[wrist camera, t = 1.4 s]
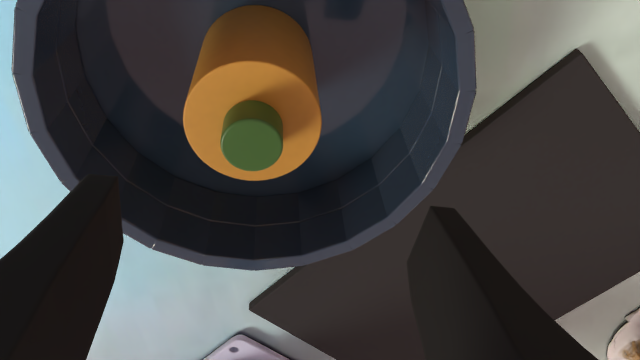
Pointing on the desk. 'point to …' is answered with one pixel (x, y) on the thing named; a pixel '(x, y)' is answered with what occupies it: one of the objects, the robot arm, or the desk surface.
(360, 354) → the mat
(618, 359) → the roast chicken plate
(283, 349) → the desk surface
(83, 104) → the pot
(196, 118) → the orange cylinder green stub
